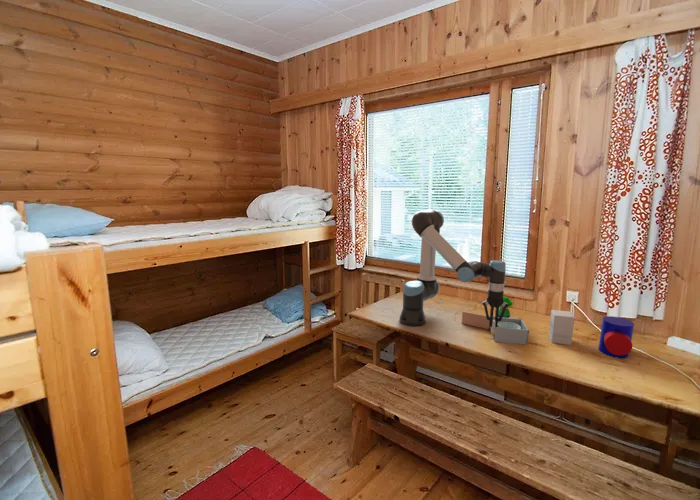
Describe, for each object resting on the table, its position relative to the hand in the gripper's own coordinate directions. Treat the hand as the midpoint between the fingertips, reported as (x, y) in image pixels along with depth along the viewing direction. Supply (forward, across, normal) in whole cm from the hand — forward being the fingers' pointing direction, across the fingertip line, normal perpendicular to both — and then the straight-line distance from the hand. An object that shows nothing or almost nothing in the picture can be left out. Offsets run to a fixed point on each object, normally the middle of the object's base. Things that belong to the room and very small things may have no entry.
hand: (492, 332), depth 191 cm
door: (+1, -7, +11) cm, 13 cm away
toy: (+2, +9, +22) cm, 24 cm away
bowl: (+2, +8, 0) cm, 8 cm away
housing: (+2, +7, 0) cm, 7 cm away
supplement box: (+2, +33, +1) cm, 33 cm away
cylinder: (+2, +54, -7) cm, 55 cm away
